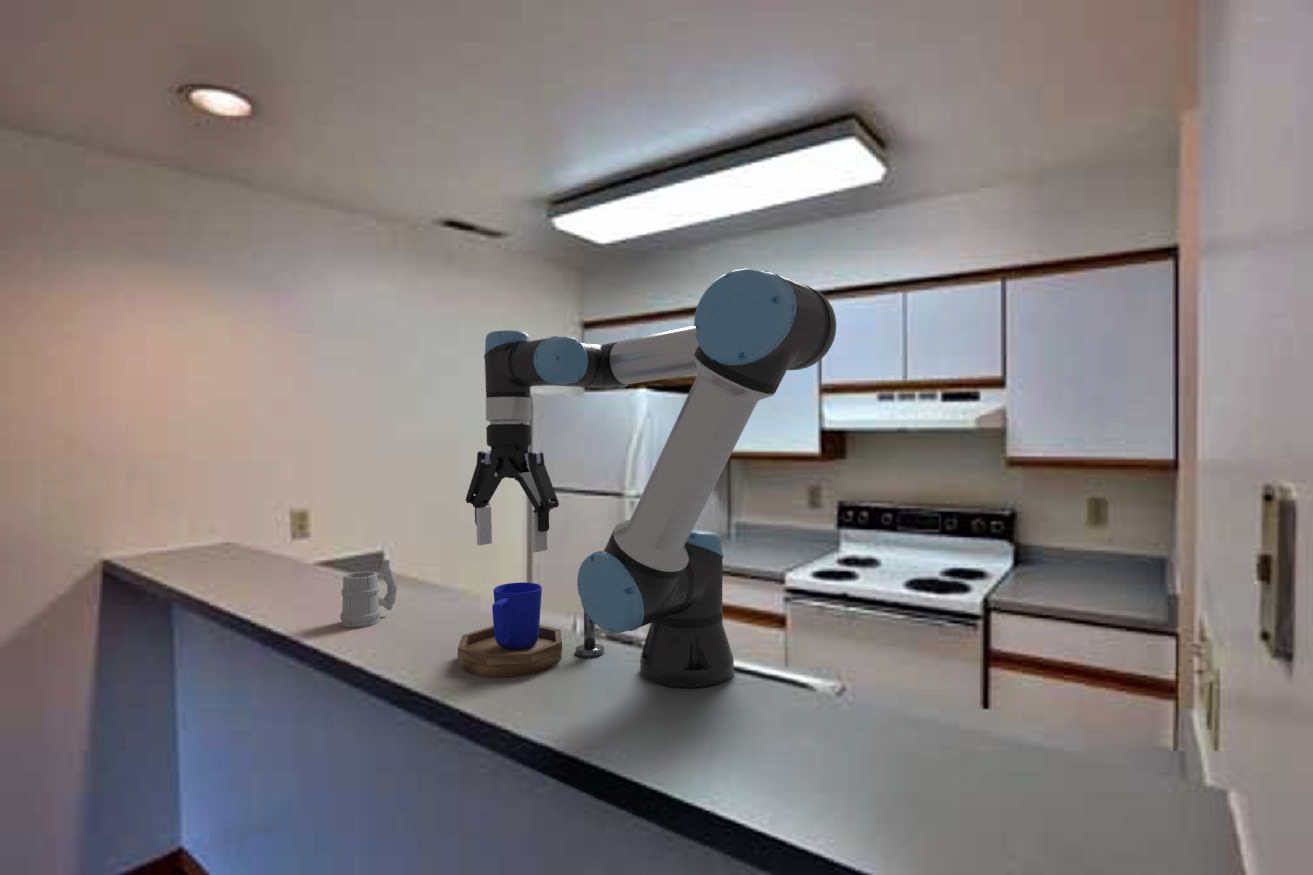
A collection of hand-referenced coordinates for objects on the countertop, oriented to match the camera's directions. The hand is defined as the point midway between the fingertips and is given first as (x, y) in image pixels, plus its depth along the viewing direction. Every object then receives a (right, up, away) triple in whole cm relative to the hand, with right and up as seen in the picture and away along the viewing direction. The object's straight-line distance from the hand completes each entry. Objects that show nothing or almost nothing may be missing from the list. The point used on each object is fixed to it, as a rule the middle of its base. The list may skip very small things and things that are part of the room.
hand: (511, 547), depth 118 cm
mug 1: (-34, -19, +25) cm, 47 cm away
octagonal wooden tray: (0, -19, +1) cm, 19 cm away
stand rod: (+13, -19, +3) cm, 23 cm away
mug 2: (0, -17, 0) cm, 17 cm away
